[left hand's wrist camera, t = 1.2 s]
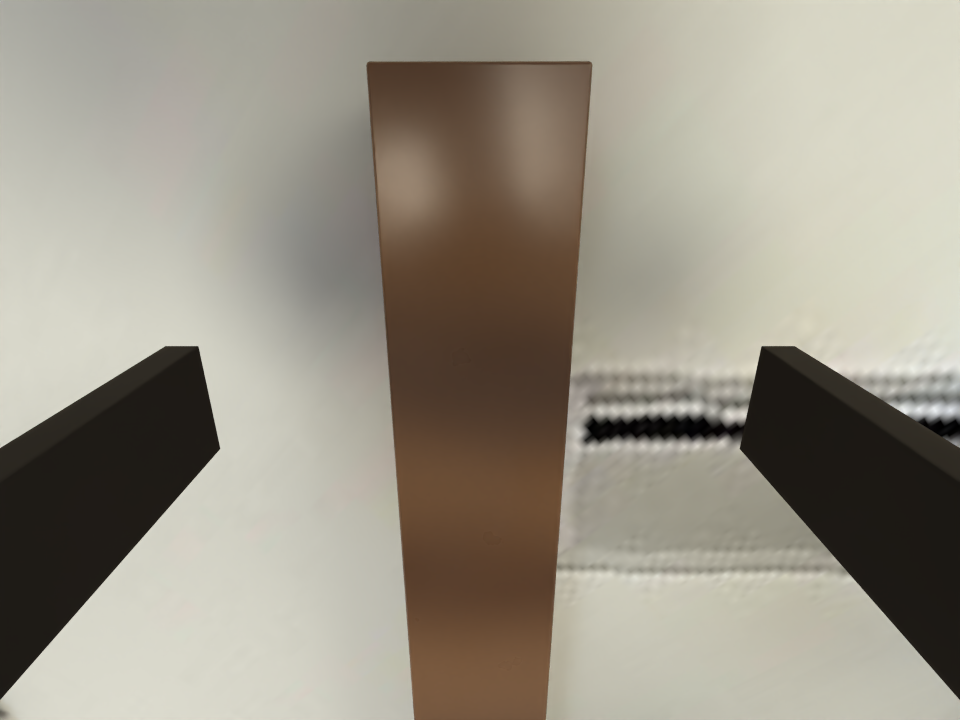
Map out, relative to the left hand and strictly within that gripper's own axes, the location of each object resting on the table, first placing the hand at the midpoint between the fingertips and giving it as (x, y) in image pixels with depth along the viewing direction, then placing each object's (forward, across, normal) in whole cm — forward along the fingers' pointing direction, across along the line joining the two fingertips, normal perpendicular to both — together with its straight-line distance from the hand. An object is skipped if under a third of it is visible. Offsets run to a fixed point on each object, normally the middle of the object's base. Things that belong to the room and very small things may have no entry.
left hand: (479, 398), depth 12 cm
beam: (+11, 0, -19) cm, 22 cm away
